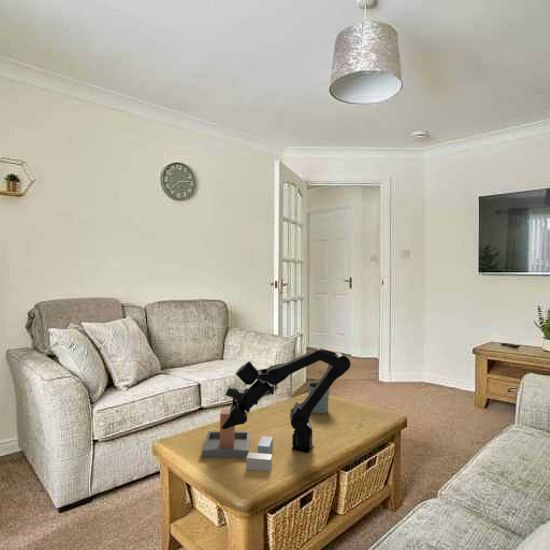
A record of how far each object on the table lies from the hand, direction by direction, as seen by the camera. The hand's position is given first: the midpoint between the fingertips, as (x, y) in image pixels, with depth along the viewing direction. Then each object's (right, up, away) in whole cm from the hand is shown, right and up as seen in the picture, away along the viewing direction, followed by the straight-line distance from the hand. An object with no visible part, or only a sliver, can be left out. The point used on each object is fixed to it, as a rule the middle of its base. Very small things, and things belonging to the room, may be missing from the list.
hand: (223, 423), depth 147 cm
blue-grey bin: (+39, -9, +40) cm, 57 cm away
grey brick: (+13, -10, -14) cm, 22 cm away
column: (+1, -8, 0) cm, 8 cm away
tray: (+1, -9, 0) cm, 9 cm away
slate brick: (+15, -9, -3) cm, 18 cm away
